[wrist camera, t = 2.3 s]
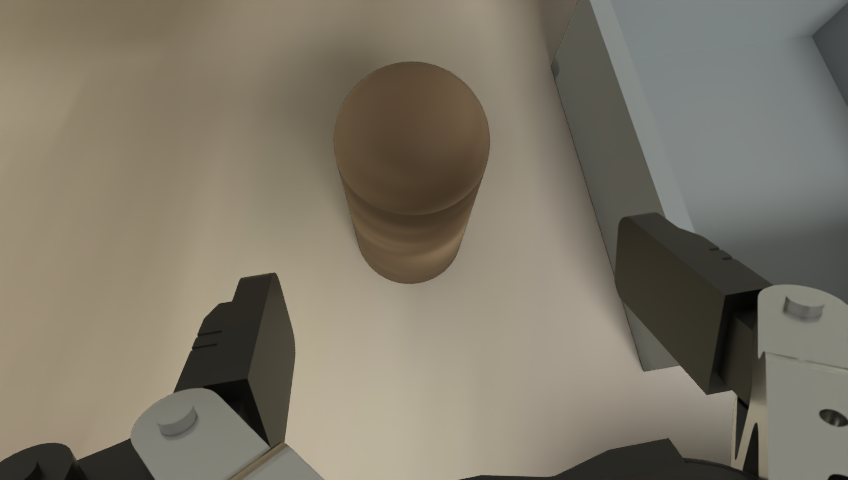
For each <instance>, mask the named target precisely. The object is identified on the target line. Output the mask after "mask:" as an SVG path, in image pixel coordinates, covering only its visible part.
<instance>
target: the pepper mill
mask: <svg viewBox="0 0 848 480" xmlns="http://www.w3.org/2000/svg"><path fill="white" fill-rule="evenodd" d="M489 149H490V134H489V127H488V122H487V119H486V116H485V113H484V110H483V108H482V106H481V104H480V102H479V100H478V99H477V97H476V96H475V94H474V93H473V92H472V90H471V89H470V88H469V87H468V86H467V85H466V84H465V83H464V82H463V81H462V80H461V79H460V78H458V77H457V76H455V75H454V74H452V73H451V72H449V71H447V70H445V69H443V68H441V67H438V66H435V65H432V64H428V63H422V62H401V63H395V64H391V65H388V66H385V67H383V68H381V69H378V70H376V71H374V72H373V73H371V74H369V75H368V76H366V77H365V78H364V79H362V80H361V81H360V82H359V83H358V84H357V85H356V86H355V87H354V88H353V90H352V91H351V92H350V93H349V95H348V96H347V98H346V99H345V101H344V103H343V105H342V107H341V109H340V112H339V114H338V117H337V121H336V125H335V132H334V150H335V156H336V161H337V165H338V169H339V173H340V176H341V180H342V184H343V187H344V191H345V195H346V199H347V202H348V206H349V210H350V214H351V217H352V221H353V225H354V228H355V232H356V236H357V240H358V243H359V247H360V250H361V253H362V255H363V257H364V259H365V260H366V262H367V263H368V264H369V266H370V267H371V268H372V269H373V270H374V271H375V272H377V273H378V274H379V275H381V276H383V277H384V278H386V279H389V280H391V281H394V282H398V283H405V284H414V283H421V282H425V281H428V280H430V279H433V278H435V277H436V276H438V275H440V274H441V273H442V272H444V271H445V270H446V269H447V268H448V267H449V266H450V264H451V263H452V262H453V260H454V259H455V257H456V255H457V252H458V250H459V247H460V244H461V241H462V238H463V235H464V232H465V229H466V226H467V223H468V220H469V217H470V213H471V210H472V207H473V204H474V201H475V198H476V195H477V192H478V189H479V186H480V183H481V180H482V177H483V174H484V171H485V168H486V164H487V161H488V156H489Z"/></svg>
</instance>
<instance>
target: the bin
mask: <svg viewBox="0 0 848 480" xmlns="http://www.w3.org/2000/svg"><path fill="white" fill-rule="evenodd" d="M551 69H552V72H553V75H554V79H555V82H556V85H557V89H558V92H559V95H560V98H561V102H562V105H563V108H564V112H565V115H566V118H567V121H568V125H569V128H570V131H571V134H572V138H573V141H574V144H575V148H576V151H577V154H578V157H579V161H580V164H581V167H582V170H583V174H584V177H585V180H586V184H587V187H588V190H589V193H590V197H591V200H592V203H593V207H594V210H595V213H596V216H597V220H598V223H599V226H600V229H601V233H602V236H603V239H604V243H605V246H606V249H607V252H608V256H609V259H610V262H611V266H612V269H613V272H614V275H615V263H616V249H617V234H618V225H619V222H620V220H621V219H622V218H623V217H626V216H632V215H638V214H645V213H651V212H657V213H659V214H660V215H662V216H663V217H664V218H666V219H667V220H669V221H670V222H671V223H673V224H674V225H676V226H677V227H678V228H682V229H684V230H687V231H690V232H692V233H695V234H698V235H701V236H703V237H705V238H706V239H708V240H709V241H710V242H712V243H713V244H715V245H716V246H718V247H719V250H723V251H725V252H726V253H728V254H729V255H731V256H732V259H737V260H738V261H739V262H741V263H742V264H744V265H745V266H747V267H748V268H750V269H751V270H752V271H754V272H755V273H757V274H758V275H760V276H761V277H763V278H764V279H765V280H767V281H768V282H770V283H771V284H773V285H774V286H775V285H800V286H806V287H810V288H814V289H818V290H821V291H824V292H826V293H829V294H831V295H833V296H835V297H837V298H839V299H840V300H842V301H843V302H844V303H845V304H847V305H848V0H579V1H578V3H577V5H576V8H575V10H574V13H573V15H572V17H571V20H570V22H569V24H568V27H567V29H566V32H565V34H564V36H563V39H562V41H561V43H560V46H559V48H558V51H557V53H556V55H555V58H554V60H553V62H552V65H551ZM622 302H623V300H622ZM623 305H624V308H625V311H626V315H627V318H628V321H629V325H630V328H631V331H632V334H633V338H634V341H635V344H636V347H637V351H638V354H639V357H640V361H641V364H642V367H643V370H644V372H645V371H651V370H656V369H662V368H668V367H673V366H679V365H680V364H679V363H678V362H677V361H676V360H675V359H674V358H673V357H672V355H671V354H670V353H669V352H668V351H667V350H666V349H665V348H664V347H663V345H662V344H661V343H660V342H659V341H658V340H657V339H656V338H655V336H654V335H653V334H652V333H651V332H650V331H649V330H648V329H647V327H646V326H645V325H644V324H643V323H642V322H641V321H640V320H639V319H638V317H637V316H636V315H635V314H634V313H633V312H632V311H631V310H630V308H629V307H628V306H627V305H626V304H625V303H624V302H623Z"/></svg>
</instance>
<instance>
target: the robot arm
mask: <svg viewBox="0 0 848 480" xmlns="http://www.w3.org/2000/svg"><path fill="white" fill-rule="evenodd" d="M615 284H616V288H617V291H618V294H619V296H620V298H621V299H622V300H623V302H624V303H625V304H626V305H627V306H628V307H629V308H630V310H631V311H632V312H633V313H634V314H635V315H636V316H637V317H638V319H639V320H640V321H641V322H642V323H643V324H644V325H645V326H646V327H647V329H648V330H649V331H650V332H651V333H652V334H653V335H654V336H655V338H656V339H657V340H658V341H659V342H660V343H661V344H662V345H663V347H664V348H665V349H666V350H667V351H668V352H669V353H670V354H671V355H672V357H673V358H674V359H675V360H676V361H677V362H678V363H679V364H680V366H681V367H682V368H683V369H684V370H685V371H686V372H687V373H688V374H689V376H690V377H691V378H692V379H693V380H694V381H695V382H696V383H697V385H698V386H699V387H700V388H701V389H702V390H703V391H704V392H705V394H706V395H709V394H714V393H719V392H724V391H730V390H733V391H734V392H735V393H736V399H735V404H734V409H733V428H732V449H731V467H730V466H726V465H723V464H719V463H714V462H710V461H705V460H698V459H690V458H682V456H681V455H680V454H679V452H678V451H677V449H676V448H675V447H674V445H673V444H672V442H671V441H670V440H669V438H667V439H662V440H657V441H652V442H647V443H642V444H637V445H632V446H627V447H622V448H616V449H611V450H608V451H606V452H604V453H602V454H600V455H597V456H595V457H593V458H591V459H589V460H587V461H585V462H583V463H581V464H579V465H577V466H575V467H573V468H571V469H569V470H566V471H564V472H562V473H560V474H558V475H555V476H552V477H524V476H491V475H480V476H475V477H470V478H465V479H460V480H848V305H847V304H845V303H844V302H843V301H842V300H840V299H839V298H837V297H835V296H833V295H831V294H829V293H826V292H824V291H821V290H818V289H814V288H810V287H806V286H800V285H775V286H774V285H773V284H771V283H770V282H768V281H767V280H765V279H764V278H763V277H761V276H760V275H758V274H757V273H755V272H754V271H752V270H751V269H750V268H748V267H747V266H745V265H744V264H742V263H741V262H739V261H738V260H737V259H732V256H731V255H729V254H728V253H726V252H725V251H723V250H719V247H718V246H716V245H715V244H713V243H712V242H710V241H709V240H708V239H706V238H705V237H703V236H701V235H698V234H695V233H692V232H690V231H687V230H684V229H682V228H678V227H677V226H676V225H674V224H673V223H671V222H670V221H669V220H667V219H666V218H664V217H663V216H662V215H660V214H659V213H657V212H651V213H645V214H638V215H632V216H626V217H623V218H622V219H621V220H620V222H619V225H618V234H617V249H616V263H615ZM197 335H198V338H196V339H195V342H194V344H193V346H192V351H190V354H189V356H188V359H187V361H186V363H185V366H184V368H183V371H182V373H181V375H180V378H179V380H178V383H177V385H176V388H175V390H174V392H173V394H171V395H168V396H167V397H165V398H163V399H161V400H159V401H158V402H156V403H154V404H153V405H152V406H151V407H149V408H148V409H147V410H146V411H145V412H144V413H143V414H142V415H141V416H140V417H139V418H138V420H137V421H136V423H135V424H134V426H133V428H132V431H131V438H129V439H128V440H126V441H123V442H121V443H119V444H116V445H114V446H112V447H109V448H107V449H104V450H102V451H99V452H97V453H94V454H92V455H89V456H87V457H84V458H82V459H79V460H76V458H75V457H74V455H73V453H72V452H71V450H70V448H68V447H67V446H66V445H63V444H59V443H46V444H40V445H36V446H33V447H30V448H27V449H24V450H22V451H20V452H18V453H15V454H13V455H12V456H10V457H8V458H6V459H4V460H3V461H1V462H0V480H324V479H323V478H322V477H321V476H320V475H319V474H318V473H317V472H316V471H315V470H314V469H313V468H312V467H311V466H310V465H309V464H307V463H306V462H305V461H304V460H303V459H302V458H301V457H300V456H299V455H298V454H297V453H296V452H295V451H294V450H293V449H292V448H291V447H289V446H288V445H287V444H285V443H284V441H285V433H286V425H287V418H288V410H289V402H290V394H291V386H292V378H293V370H294V362H295V341H294V334H293V329H292V326H291V322H290V318H289V315H288V311H287V307H286V304H285V300H284V296H283V292H282V289H281V285H280V282H279V279H278V276H277V275H276V273H268V274H262V275H256V276H250V277H244V278H241V279H240V280H239V283H238V286H237V289H236V292H235V295H234V298H233V300H232V302H226V303H220V304H218V305H217V306H216V307H215V308H214V309H213V310H212V311H211V312H210V313H209V314H208V315H207V316H206V317H205V318H204V320H203V322H202V325H201V327H200V330H199V332H198V334H197Z"/></svg>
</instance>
